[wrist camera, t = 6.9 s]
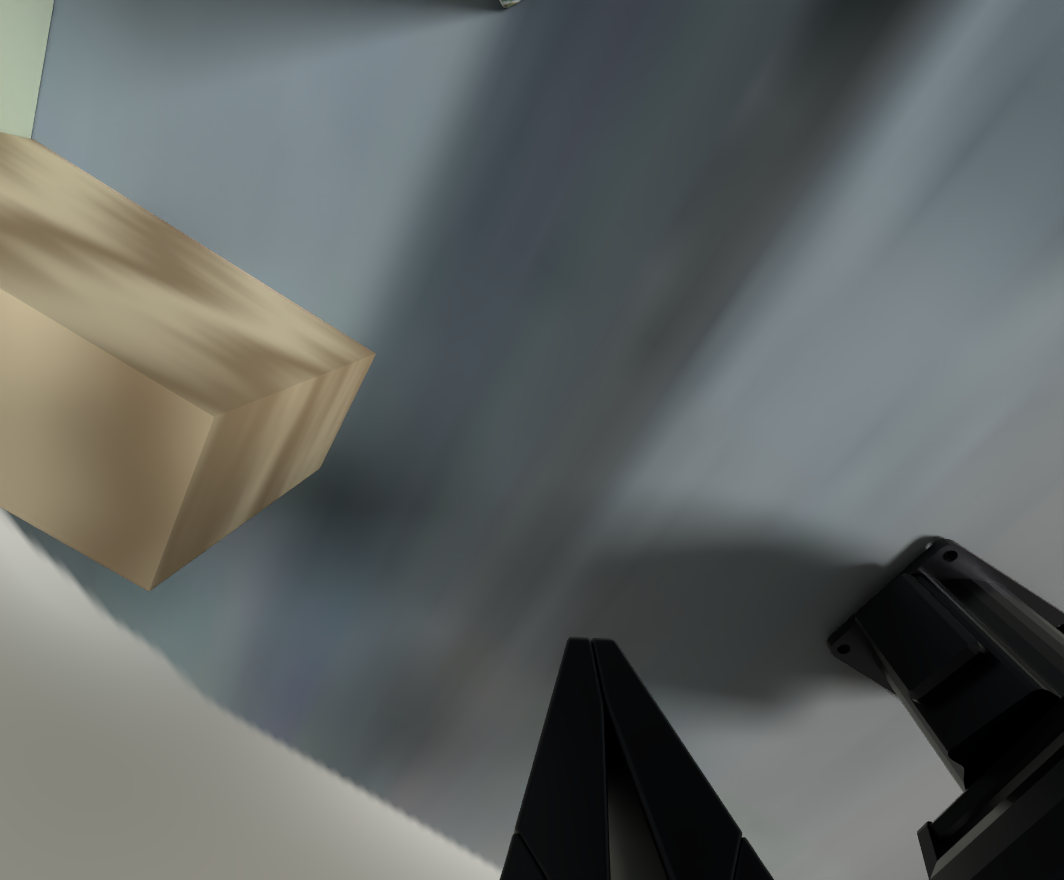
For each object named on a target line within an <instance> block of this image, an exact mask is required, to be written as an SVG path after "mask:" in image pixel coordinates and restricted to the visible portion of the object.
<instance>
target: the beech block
mask: <svg viewBox="0 0 1064 880" xmlns="http://www.w3.org/2000/svg"><path fill="white" fill-rule="evenodd" d="M374 356H375V353H374V352H372V351H370V350H369V349H367V348H366V347H364V346H362V345H361V344H359V343H358V342H356V341H354V340H353V339H351V338H350V337H348V336H347V335H345V334H343V333H342V332H340V331H339V330H337V329H335V328H334V327H332V326H331V325H329V324H327V323H326V322H324V321H323V320H321V319H319V318H318V317H316V316H315V315H313V314H311V313H310V312H308V311H307V310H305V309H303V308H302V307H300V306H299V305H297V304H295V303H294V302H292V301H291V300H289V299H287V298H286V297H284V296H283V295H281V294H279V293H278V292H276V291H275V290H273V289H271V288H270V287H268V286H267V285H265V284H263V283H262V282H260V281H259V280H257V279H256V278H254V277H252V276H251V275H249V274H248V273H246V272H244V271H243V270H241V269H240V268H238V267H236V266H235V265H233V264H232V263H230V262H228V261H227V260H225V259H224V258H222V257H220V256H219V255H217V254H216V253H214V252H212V251H211V250H209V249H208V248H206V247H204V246H203V245H201V244H200V243H198V242H196V241H195V240H193V239H192V238H190V237H188V236H187V235H185V234H184V233H182V232H180V231H179V230H177V229H176V228H174V227H172V226H171V225H169V224H168V223H166V222H164V221H163V220H161V219H160V218H158V217H157V216H155V215H153V214H152V213H150V212H149V211H147V210H145V209H144V208H142V207H141V206H139V205H137V204H136V203H134V202H133V201H131V200H129V199H128V198H126V197H125V196H123V195H121V194H120V193H118V192H117V191H115V190H113V189H112V188H110V187H109V186H107V185H105V184H104V183H102V182H101V181H99V180H97V179H96V178H94V177H93V176H91V175H89V174H88V173H86V172H85V171H83V170H81V169H80V168H78V167H77V166H75V165H73V164H72V163H70V162H69V161H67V160H65V159H64V158H62V157H61V156H59V155H58V154H56V153H54V152H53V151H51V150H50V149H48V148H46V147H45V146H43V145H42V144H40V143H38V142H37V141H35V140H34V139H30V138H25V137H21V136H16V135H12V134H7V133H3V132H0V507H1V508H3V509H5V510H7V511H8V512H10V513H12V514H14V515H15V516H17V517H19V518H21V519H22V520H24V521H26V522H28V523H29V524H31V525H33V526H35V527H36V528H38V529H40V530H42V531H44V532H45V533H47V534H49V535H51V536H52V537H54V538H56V539H58V540H59V541H61V542H63V543H65V544H66V545H68V546H70V547H72V548H73V549H75V550H77V551H79V552H80V553H82V554H84V555H86V556H87V557H89V558H91V559H93V560H94V561H96V562H98V563H100V564H101V565H103V566H105V567H107V568H108V569H110V570H112V571H114V572H115V573H117V574H119V575H121V576H123V577H124V578H126V579H128V580H130V581H131V582H133V583H135V584H137V585H138V586H140V587H142V588H144V589H145V590H147V591H150V590H152V589H153V588H155V587H156V586H157V585H159V584H160V583H161V582H163V581H164V580H166V579H167V578H168V577H170V576H171V575H173V574H174V573H175V572H177V571H178V570H180V569H181V568H182V567H184V566H185V565H186V564H188V563H189V562H191V561H192V560H193V559H195V558H196V557H198V556H199V555H200V554H202V553H203V552H205V551H206V550H207V549H209V548H210V547H211V546H213V545H214V544H216V543H217V542H218V541H220V540H221V539H223V538H224V537H225V536H227V535H228V534H230V533H231V532H232V531H234V530H235V529H236V528H238V527H239V526H241V525H242V524H243V523H245V522H246V521H248V520H249V519H250V518H252V517H253V516H255V515H256V514H257V513H259V512H260V511H261V510H263V509H264V508H266V507H267V506H268V505H270V504H271V503H273V502H274V501H275V500H277V499H278V498H280V497H281V496H282V495H284V494H285V493H286V492H288V491H289V490H291V489H292V488H293V487H295V486H296V485H298V484H299V483H300V482H302V481H303V480H305V479H306V478H307V477H309V476H310V475H311V474H313V473H314V472H316V471H317V470H318V469H320V467H321V465H322V463H323V461H324V459H325V457H326V455H327V453H328V451H329V449H330V447H331V445H332V443H333V441H334V439H335V436H336V434H337V432H338V430H339V428H340V426H341V424H342V422H343V420H344V418H345V416H346V414H347V412H348V410H349V408H350V406H351V404H352V402H353V400H354V397H355V395H356V393H357V391H358V389H359V387H360V385H361V383H362V381H363V379H364V377H365V375H366V373H367V371H368V369H369V367H370V365H371V363H372V361H373V358H374Z"/></svg>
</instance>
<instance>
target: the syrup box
mask: <svg viewBox="0 0 1064 880" xmlns="http://www.w3.org/2000/svg"><path fill="white" fill-rule="evenodd" d="M499 1H500V3H501V4H502V6H503V7H504V8H508V7H510V6H512V5H514V4H516V3H518V2H519V1H521V0H499Z"/></svg>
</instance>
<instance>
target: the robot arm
mask: <svg viewBox="0 0 1064 880" xmlns="http://www.w3.org/2000/svg"><path fill="white" fill-rule="evenodd" d="M949 550H951V552H950V553H949V554H948V555H946V556H943V555H944V553H945V552H947V551H949ZM1059 625H1060V626H1059ZM1058 626H1059V627H1058ZM841 644H845V645H844V646H842V647H838V646H840V645H841ZM827 646H828V648H829V650H830V651H831V653H832V654H833V655H834V656H835V657H836V658H838V659H840V660H841V661H843V662H844V663H846V664H848V665H849V666H851V667H852V668H854V669H856V670H857V671H859V672H861V673H862V674H864V675H865V676H867V677H869V678H870V679H872V680H873V681H875V682H877V683H878V684H880V685H882V686H883V687H885V688H886V689H888V690H890V691H891V692H893V693H894V694H896V695H897V696H898V697H899V699H900V700H901V702H902V703H903V705H904V706H905V708H906V709H907V711H908V712H909V713H910V715H911V716H912V718H913V719H914V721H915V722H916V724H917V725H918V727H919V728H920V730H921V731H922V732H923V734H924V735H925V737H926V738H927V740H928V741H929V743H930V744H931V746H932V747H933V749H934V750H935V751H936V753H937V754H938V756H939V757H940V759H941V760H942V762H943V763H944V765H945V766H946V768H947V769H948V770H949V772H950V773H951V775H952V776H953V778H954V779H955V781H956V782H957V784H958V785H959V787H960V788H961V790H962V791H963V793H962V794H961V795H960V796H959V797H958V798H957V799H956V800H955V801H954V802H953V803H952V804H951V805H950V806H949V807H948V808H947V809H946V810H945V811H944V812H943V813H942V814H941V815H940V816H939V817H938V818H936V819H935V820H934V821H933V822H930V821H928V822H926V823H925V824H924V825H923V826H922V827H921V828H920V829H919V830H918V831H917V835H918V839H919V843H920V847H921V850H922V854H923V858H924V862H925V866H926V870H927V873H928V877H929V880H1064V612H1062V611H1061V610H1059V609H1058V608H1056V607H1055V606H1053V605H1052V604H1050V603H1049V602H1047V601H1045V600H1044V599H1042V598H1041V597H1039V596H1038V595H1036V594H1035V593H1033V592H1032V591H1030V590H1029V589H1027V588H1025V587H1024V586H1022V585H1021V584H1019V583H1018V582H1016V581H1015V580H1013V579H1012V578H1010V577H1009V576H1007V575H1005V574H1004V573H1002V572H1001V571H999V570H998V569H996V568H995V567H993V566H992V565H990V564H989V563H987V562H985V561H984V560H982V559H981V558H979V557H978V556H976V555H975V554H973V553H972V552H970V551H969V550H967V549H965V548H964V547H962V546H961V545H959V544H958V543H956V542H955V541H952V540H950V539H942V540H939V541H937V542H935V543H934V544H932V545H931V546H930V547H929V548H928V549H927V550H926V551H925V552H924V553H922V554H921V555H920V556H919V557H918V558H917V559H916V560H915V561H913V562H912V563H911V564H910V565H909V566H908V567H907V568H906V569H905V570H903V571H902V572H901V573H900V574H899V575H898V576H897V577H896V578H895V579H893V580H892V581H891V582H890V583H889V584H888V585H887V586H886V587H884V588H883V589H882V590H881V591H880V592H879V593H878V594H877V595H876V596H874V597H873V598H872V599H871V600H870V601H869V602H868V603H867V604H866V605H864V606H863V607H862V608H861V609H860V610H859V611H858V612H857V613H855V614H854V615H853V616H852V617H851V618H850V619H849V620H848V621H847V622H845V623H844V624H843V625H842V626H841V627H840V628H839V629H838V630H837V631H835V632H834V633H833V634H832V635H831V636H830V637H829V638H828V640H827ZM500 880H774V879H773V877H772V876H771V874H770V873H769V872H768V870H767V869H766V867H765V866H764V864H763V863H762V861H761V860H760V858H759V857H758V855H757V854H756V852H755V851H754V849H753V848H752V846H751V845H750V843H749V842H748V840H747V839H746V838H745V837H742V832H741V830H740V828H739V827H738V825H737V824H736V822H735V821H734V819H733V818H732V816H731V815H730V813H729V812H728V810H727V809H726V807H725V806H724V804H723V803H722V801H721V800H720V798H719V797H718V795H717V794H716V792H715V791H714V789H713V788H712V786H711V785H710V783H709V782H708V780H707V779H706V777H705V776H704V774H703V773H702V771H701V770H700V768H699V767H698V765H697V764H696V762H695V761H694V759H693V758H692V756H691V755H690V753H689V752H688V750H687V749H686V747H685V746H684V744H683V743H682V741H681V739H680V738H679V736H678V735H677V733H676V732H675V730H674V729H673V727H672V726H671V724H670V723H669V721H668V720H667V718H666V717H665V715H664V714H663V712H662V711H661V709H660V708H659V706H658V705H657V703H656V702H655V700H654V699H653V697H652V696H651V694H650V693H649V691H648V690H647V688H646V687H645V685H644V684H643V682H642V681H641V679H640V678H639V676H638V675H637V673H636V672H635V670H634V669H633V667H632V666H631V664H630V663H629V661H628V660H627V658H626V657H625V655H624V654H623V652H622V651H621V649H620V648H619V646H618V645H617V643H616V642H615V641H614V640H612V639H605V638H593V639H592V640H591V641H590V639H588V638H579V637H570V638H569V639H568V640H567V643H566V647H565V651H564V654H563V658H562V661H561V665H560V668H559V672H558V676H557V679H556V683H555V686H554V690H553V694H552V697H551V701H550V704H549V708H548V711H547V715H546V719H545V722H544V726H543V729H542V733H541V736H540V740H539V744H538V747H537V751H536V754H535V758H534V761H533V765H532V769H531V772H530V776H529V779H528V783H527V787H526V790H525V794H524V797H523V801H522V804H521V808H520V812H519V815H518V819H517V822H516V826H515V831H514V834H513V836H512V839H511V843H510V846H509V850H508V854H507V857H506V861H505V864H504V867H503V871H502V874H501V877H500Z"/></svg>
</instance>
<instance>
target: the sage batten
mask: <svg viewBox="0 0 1064 880" xmlns="http://www.w3.org/2000/svg"><path fill="white" fill-rule="evenodd" d="M53 4H54V0H0V132H3V133H7V134H12V135H16V136H21V137H25V138H30V139H31V134H32V129H33V123H34V117H35V111H36V105H37V99H38V93H39V87H40V81H41V75H42V69H43V63H44V57H45V51H46V46H47V40H48V34H49V28H50V22H51V16H52V10H53Z"/></svg>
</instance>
